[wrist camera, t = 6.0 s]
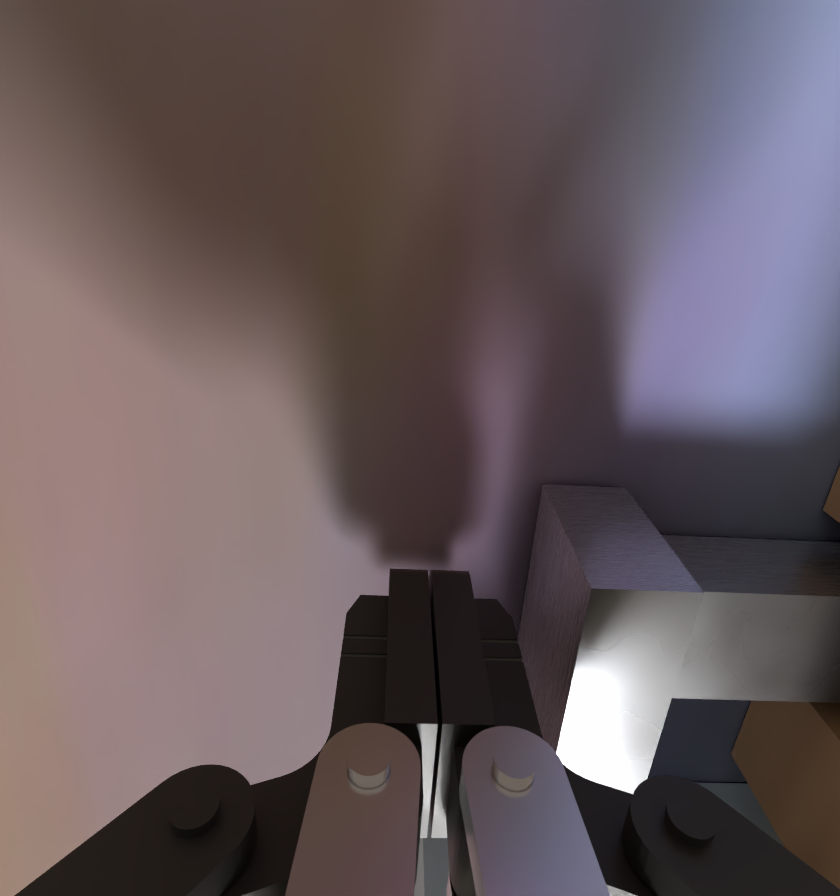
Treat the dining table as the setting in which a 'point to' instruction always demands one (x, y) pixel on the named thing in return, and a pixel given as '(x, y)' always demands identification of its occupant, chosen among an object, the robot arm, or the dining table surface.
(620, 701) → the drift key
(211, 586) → the dining table surface
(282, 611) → the dining table surface
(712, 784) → the block
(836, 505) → the socket block
